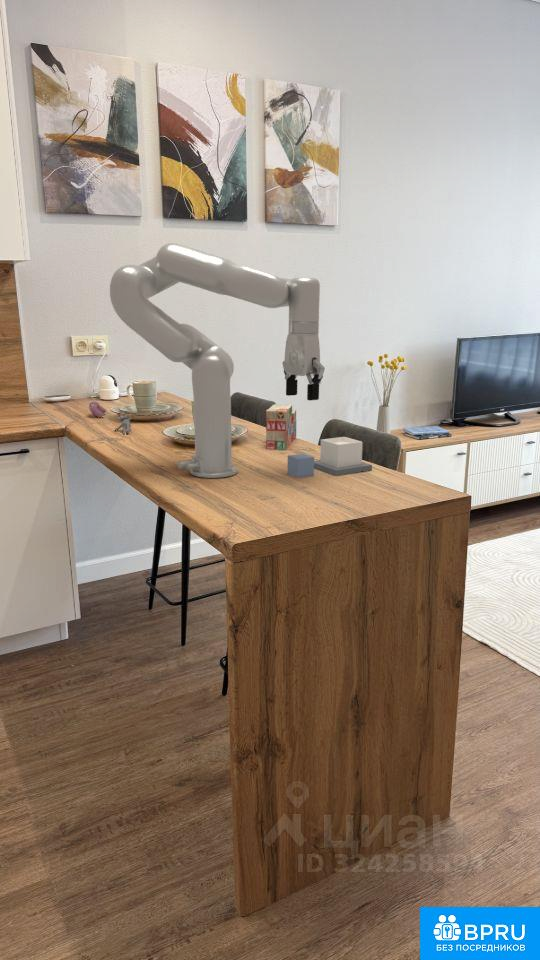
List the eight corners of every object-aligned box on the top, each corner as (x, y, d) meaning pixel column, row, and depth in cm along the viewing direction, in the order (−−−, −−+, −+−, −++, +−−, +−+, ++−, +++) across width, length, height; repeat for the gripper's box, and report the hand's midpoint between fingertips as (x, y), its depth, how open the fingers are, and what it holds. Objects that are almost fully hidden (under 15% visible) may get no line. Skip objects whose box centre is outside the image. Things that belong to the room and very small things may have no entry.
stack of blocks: (278, 436, 234) (278, 399, 231) (296, 437, 233) (297, 400, 230) (265, 449, 213) (265, 409, 210) (286, 450, 212) (286, 410, 209)
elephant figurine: (109, 436, 234) (108, 422, 241) (122, 446, 237) (120, 432, 245) (131, 417, 232) (129, 404, 239) (144, 428, 236) (141, 415, 243)
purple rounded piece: (97, 418, 276) (88, 402, 274) (108, 413, 276) (99, 397, 274) (94, 422, 266) (85, 406, 264) (105, 417, 266) (95, 400, 264)
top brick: (297, 478, 180) (298, 459, 179) (287, 473, 184) (287, 455, 183) (313, 475, 183) (314, 457, 182) (303, 471, 187) (303, 453, 186)
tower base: (335, 475, 182) (336, 447, 180) (309, 466, 192) (310, 439, 190) (371, 470, 188) (373, 442, 186) (345, 461, 198) (345, 434, 196)
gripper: (272, 327, 180) (271, 394, 184) (310, 331, 165) (309, 403, 170) (296, 327, 183) (295, 392, 188) (336, 330, 169) (334, 401, 174)
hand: (302, 397), depth 179 cm, fingers open, 9 cm apart
